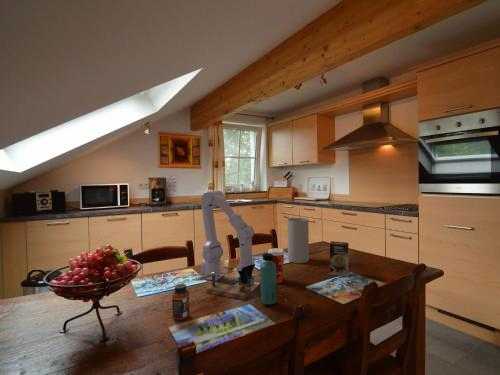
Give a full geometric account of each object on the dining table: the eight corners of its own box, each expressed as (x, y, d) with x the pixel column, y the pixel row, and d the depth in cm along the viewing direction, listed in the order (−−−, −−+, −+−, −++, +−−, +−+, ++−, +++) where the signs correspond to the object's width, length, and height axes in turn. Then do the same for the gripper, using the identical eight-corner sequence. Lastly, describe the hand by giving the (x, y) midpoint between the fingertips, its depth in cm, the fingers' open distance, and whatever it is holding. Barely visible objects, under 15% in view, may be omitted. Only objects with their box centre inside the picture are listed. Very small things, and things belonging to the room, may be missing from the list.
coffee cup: (284, 284, 121) (283, 252, 121) (266, 283, 123) (266, 252, 122) (285, 278, 129) (285, 248, 129) (269, 277, 131) (268, 247, 130)
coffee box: (329, 274, 132) (329, 243, 132) (330, 270, 138) (330, 240, 138) (348, 277, 129) (348, 245, 129) (348, 272, 135) (348, 242, 135)
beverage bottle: (272, 310, 98) (271, 257, 97) (257, 305, 101) (256, 255, 101) (280, 302, 103) (279, 253, 103) (265, 299, 107) (264, 251, 106)
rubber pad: (232, 287, 119) (232, 286, 119) (241, 280, 127) (241, 279, 127) (252, 291, 114) (252, 290, 114) (259, 283, 123) (259, 282, 123)
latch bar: (213, 273, 118) (213, 271, 118) (216, 274, 116) (216, 272, 116) (197, 279, 111) (197, 277, 111) (201, 281, 109) (200, 278, 109)
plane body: (206, 292, 114) (206, 277, 114) (215, 286, 120) (214, 272, 120) (243, 299, 106) (242, 283, 106) (250, 293, 113) (250, 277, 112)
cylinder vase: (285, 258, 162) (285, 218, 162) (304, 257, 164) (304, 217, 163) (291, 264, 150) (290, 221, 149) (311, 263, 151) (311, 220, 151)
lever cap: (238, 285, 120) (238, 277, 120) (242, 282, 124) (242, 274, 124) (250, 287, 117) (250, 279, 117) (254, 284, 121) (254, 276, 121)
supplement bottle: (190, 319, 92) (189, 288, 92) (172, 322, 90) (171, 290, 90) (189, 311, 98) (188, 281, 97) (172, 314, 96) (171, 283, 96)
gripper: (246, 257, 112) (247, 288, 112) (259, 249, 125) (260, 277, 125) (232, 255, 115) (233, 286, 115) (246, 248, 128) (247, 275, 128)
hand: (246, 281), depth 120 cm, fingers closed on lever cap, 4 cm apart
